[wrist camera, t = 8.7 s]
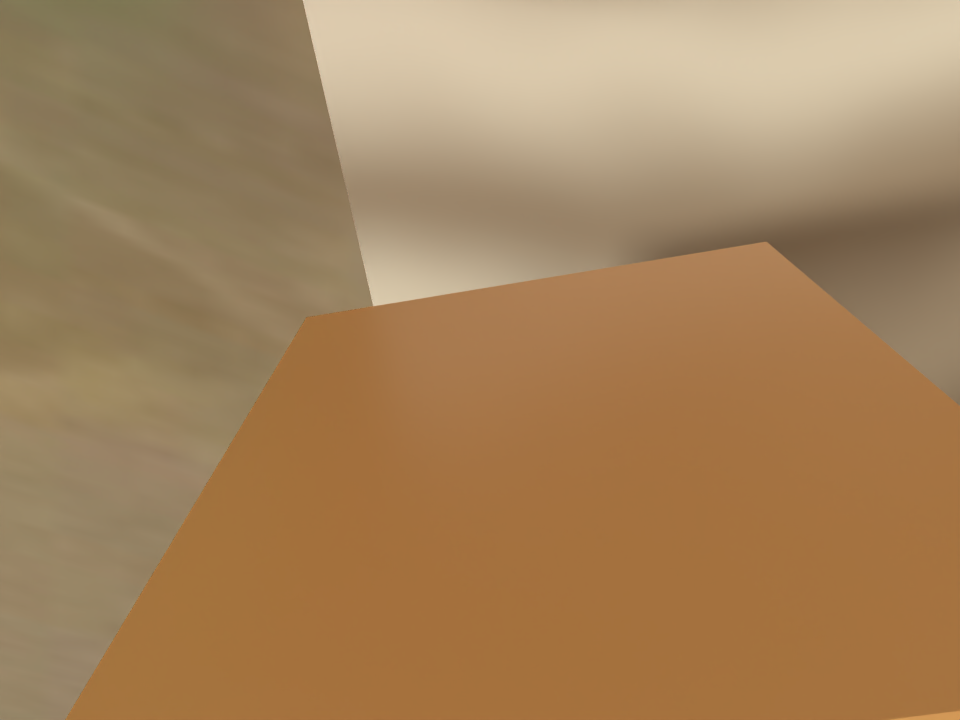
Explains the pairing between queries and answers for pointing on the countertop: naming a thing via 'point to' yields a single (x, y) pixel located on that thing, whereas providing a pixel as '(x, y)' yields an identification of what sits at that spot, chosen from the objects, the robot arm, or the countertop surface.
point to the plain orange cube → (569, 516)
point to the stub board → (656, 145)
